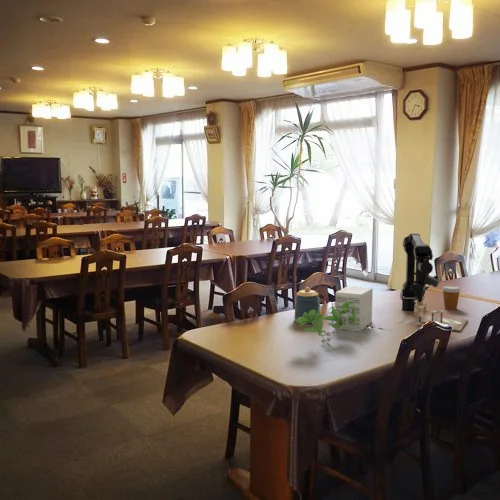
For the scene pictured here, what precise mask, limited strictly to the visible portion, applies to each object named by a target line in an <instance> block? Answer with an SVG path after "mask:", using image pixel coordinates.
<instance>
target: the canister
mask: <svg viewBox="0 0 500 500" xmlns="http://www.w3.org/2000/svg"><path fill="white" fill-rule="evenodd" d="M293 298H294V300H295V302H294V322H295V321H296V319H297V318H299V317H303V314H304V313H305V312H306V313H307V314H308V313H309V312H310V311H311V310H315V311H316V313H315V314H317V312H318V309H319V308H320V306H321V304H320V300H321V298H320V297H319V292H317V291H316V290H313V289H311V288H310V287H309V286H306V287H305V288H304V289H301V290H299V291H298V292H296V296H295V297H293ZM320 311H321V308H320V310H319V314H321V312H320ZM304 317H305V315H304ZM313 320H314V318H313ZM313 320H312V321H313ZM312 321H311V322H312ZM305 325H313V324H312V323H306V324H305Z"/></svg>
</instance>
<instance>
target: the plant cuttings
mask: <svg viewBox="0 0 500 500" xmlns="http://www.w3.org/2000/svg"><path fill="white" fill-rule="evenodd" d="M336 304H337V305H338V303H336V302H331V307H329V309H328V314H329V315H327V316H324V315H325V314H324V312H322V313H320V314H319V310H320V311H321V310H323V309H324V307H325V306H324V304H322V305H320V308H319V309H318V312H317V314H315V313H316V311H315V310H311V311H310V312H309V313H308V314H307V313H306V312H305V313H304V314H303V317H299V318H297V319H296V321H295V320H294V322H295V323H297V324H299V327H301V326H304V325H307V324H306V323H312V324H311V325H312V326H311V327H310V326H307V327H301V329H302V330H303V331H306V332H308V333H317V335H318V336H321V338H322V339H321V340H320V342H321V343H322V344H323V345H325V344H328V346H329V347H331V349H332V350H333V351H335V349H334V348H333V347H332V346H331V345H330V343H329V342H331V339H332V338H334V336H335V335H336V334H337V330H339V329H338V328H340V327H341V326H342V325H343V324H344V322H345V321H346V320H344V322H343V321H342V318H341V316H340V315H342V314H345V313H348V312H349V307H351V308H352V306H350V304H353V305H354V301H351V302H345V303H344V304H343V307H342V306H340V307H341V308H342V310H341V311H340V309H339V314H338V313H337V311H336V306H337V305H336ZM333 305H334V306H333ZM330 310H331V312H330ZM304 315H305V317H304ZM352 315H353V316H352ZM352 315H349V316H348V320H349V322H354V323H355V324H356V311H355V306H354V307H353V309H352ZM313 318H314V320H313ZM352 318H353V319H352ZM312 320H313V321H312ZM323 320H325V321H326V320H327V321H329V322H327V326H328V327H330V326H331V327H332V328H333V330H332V331H331V332H330V331H328V332H326V331H325V330H323V326H324V324H323ZM311 321H312V322H311ZM335 321H337V323H334V322H335ZM344 325H345V324H344ZM342 327H343V329H344V326H342ZM342 327H341V328H342ZM357 327H358V326H357ZM345 328H346V327H345ZM347 328H349V324H348V327H347ZM347 328H346V330H345V331H348V330H347ZM358 328H359V327H358ZM343 329H342V330H343ZM360 332H361V333H362V335H363V336H365V337H367V338H368V339H371V337H370V336H367V335H366V333H364V332H363V330H362V331H361V330H360ZM323 334H324V335H323ZM325 336H327V337H326V338H325ZM330 336H331V337H330ZM357 341H358V343H360V345H362V346H363V344H362V343H361V342H360V340H357Z"/></svg>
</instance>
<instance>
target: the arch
mask: <svg viewBox="0 0 500 500" xmlns="http://www.w3.org/2000/svg"><path fill="white" fill-rule="evenodd" d="M423 310H427V302H425V295H424V296H422V301H421V303H420V302H418V299H417V300H416V304H415V305H414V312H413V314H414V316H416V317H423V315H427V312H423Z"/></svg>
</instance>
